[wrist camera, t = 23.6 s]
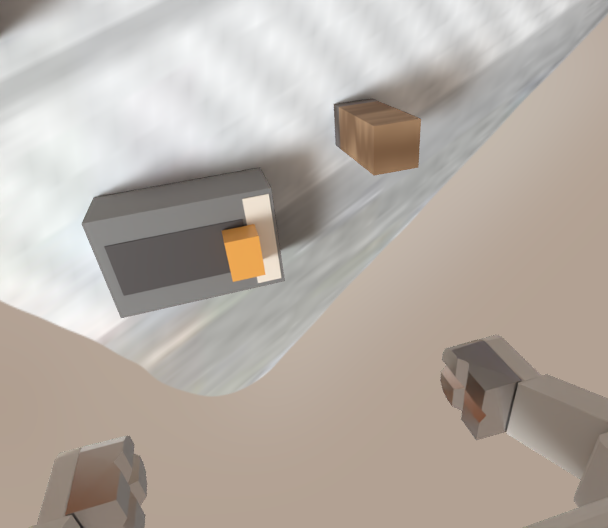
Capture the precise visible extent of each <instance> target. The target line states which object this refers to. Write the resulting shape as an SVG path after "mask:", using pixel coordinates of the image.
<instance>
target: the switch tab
mask: <svg viewBox="0 0 608 528" xmlns="http://www.w3.org/2000/svg"><path fill="white" fill-rule="evenodd" d="M222 235H223V240H224V245H225V249H226V254H227V258H228V262H229V267H230V271H231V276H232V280H233V282H235V281H240V280H244V279H249V278H253V277H257V276H262V275H266V274H265V268H264V263H263V257H262V251H261V246H260V240H259V235H258V233H257V230H256V227H255V225H254V224H252V225H247V226H242V227H237V228H232V229H228V230H223V231H222Z"/></svg>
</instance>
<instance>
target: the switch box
mask: <svg viewBox="0 0 608 528" xmlns="http://www.w3.org/2000/svg"><path fill="white" fill-rule="evenodd" d="M252 224H254V225H255V227H256V230H257V233H258V235H259V240H260V246H261V251H262V257H263V263H264V268H265V274H266V275H262V276H257V277H253V278H249V279H244V280H240V281H235V282H233V280H232V276H231V271H230V267H229V262H228V258H227V254H226V249H225V245H224V240H223V235H222V231H223V230H228V229H232V228H237V227H242V226H247V225H252ZM82 226H83V228H84V230H85V233H86V235H87V238H88V240H89V242H90V245H91V247H92V250H93V252H94V254H95V257H96V259H97V262H98V264H99V266H100V269H101V271H102V274H103V276H104V278H105V281H106V283H107V286H108V288H109V290H110V293H111V295H112V298H113V300H114V302H115V305H116V307H117V310H118V312H119V314H120V317H121V318H124V317H129V316H133V315H138V314H142V313H146V312H151V311H155V310H159V309H164V308H168V307H173V306H177V305H181V304H186V303H190V302H194V301H199V300H203V299H208V298H212V297H216V296H221V295H225V294H230V293H234V292H238V291H243V290H247V289H251V288H256V287H260V286H265V285H269V284H273V283H278V282H282V281H285V278H284V272H283V265H282V258H281V251H280V245H279V238H278V231H277V224H276V218H275V211H274V204H273V197H272V191H271V187H270V185H269V183H268V181H267V180H266V178H265V176H264V174H263V172H262V171H261V169H260V168H255V169H250V170H244V171H239V172H233V173H228V174H222V175H216V176H211V177H205V178H200V179H194V180H189V181H183V182H178V183H172V184H167V185H161V186H156V187H150V188H145V189H139V190H133V191H128V192H122V193H117V194H111V195H106V196H100V197H95V198H93V200H92V202H91V204H90V207H89V209H88V211H87V213H86V215H85V217H84V220H83V222H82Z"/></svg>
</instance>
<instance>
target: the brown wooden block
mask: <svg viewBox="0 0 608 528" xmlns="http://www.w3.org/2000/svg"><path fill="white" fill-rule="evenodd" d="M334 117H335V138H336V146H338V147H339V148H340V149H341V150H343V151H344V152H345V153H346V154H348V155H349V156H350V157H351V158H353V159H354V160H355V161H357V162H358V163H359V164H360V165H362V166H363V167H364V168H365V169H367V170H368V171H369V172H370V173H372V174H373V175H379V174H385V173H390V172H396V171H401V170H407V169H412V168H418V162H419V144H420V126H421V119H420V118H418V117H415V116H413V115H411V114H408V113H406V112H403V111H401V110H398V109H396V108H394V107H391V106H389V105H386V104H384V103H382V102H379V101H377V100H374V99H366V100H359V101H353V102H346V103H339V104H334Z"/></svg>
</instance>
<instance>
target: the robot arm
mask: <svg viewBox="0 0 608 528" xmlns="http://www.w3.org/2000/svg"><path fill="white" fill-rule="evenodd" d="M442 360H443V362H445V364H446V366H445V367H444V368H443V370H442V371H441V380H440V381H441V385H442V389H443V392H444V394H445V396H446V398H447V400H448V401H449V403H450V404H451V405H452V406H453V407H455V408H457V409H459V410H461V411H462V417H461V420H462V421H463V422H464V424H465V425H466V427H467V428H468V429H469V431H470V432H471V433H472V435H473V436H474V438H475V439H476V440H478V439H482V438H486V437H489V436H493V435H496V434H500V433H504V432H507V434H508V435H510V436H511V437H513V438H515V439H516V440H518V441H519V442H521V443H522V444H524V445H526V446H527V447H529V448H530V449H532V450H534V451H536V452H537V453H539V454H540V455H542V456H543V457H545V458H547V459H548V460H550V461H552V462H553V463H555V464H556V465H558V466H560V467H561V468H563V469H564V470H566V471H568V472H569V473H571V474H572V475H574V476H576V477H577V478H579V479H580V480H581V481H580V483H579V486H578V488H577V491H576V493H575V496H574V502H575V503H576V504H577V506H578V507H579V508H576V509H573V510H571V511H568V512H565V513H562V514H560V515H557V516H554V517H551V518H548V519H546V520H543V521H540V522H537V523H535V524H532V525H529V526H526V527H523V528H608V398H605V397H603V396H601V395H598V394H595V393H593V392H590V391H588V390H585V389H583V388H580V387H577V386H575V385H573V384H570V383H567V382H565V381H563V380H560V379H557V378H555V377H552V376H550V375H547V374H546V375H541V374H540V373H539V372H537V370H535V369H534V368H533V367H532V366H531V365H530V364H529V363H528V362H527V361H526V360H525V359H524V358H523V357H522V356H521V355H520V354H519V353H518V352H517V351H516V350H515V349H514V348H513V347H512V346H511V345H510V344H509V343H508V342H507V341H506V340H504V339H503V338H502V337H501V336H499V335H493V336H489V337H486V338H482V339H479V340H474V341H471V342H467V343H464V344H460V345H457V346H453V347H450V348H446V349H445V350H444V352H443V357H442ZM146 496H147V480H146V471H145V467H144V464H143V461H142V459H141V457H140V456H138V455H136V454H134V443H133V441H132V439H131V437H130V436H124V437H120V438H117V439H112V440H108V441H105V442H100V443H96V444H92V445H88V446H84V447H81V448H77V449H73V450H69V451H65V452H61V453H59V455H58V456H57V458H56V459H55V461H54V464H53V468H52V472H51V475H50V479H49V482H48V486H47V489H46V493H45V497H44V500H43V504H42V508H41V511H40V515H39V518H38V522H37V525H34V526H31V527H29V528H144V526H145V514H144V512H143V510H142V508H141V507H140V506H141V504H142V503H143V501H144V500H145V498H146Z"/></svg>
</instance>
